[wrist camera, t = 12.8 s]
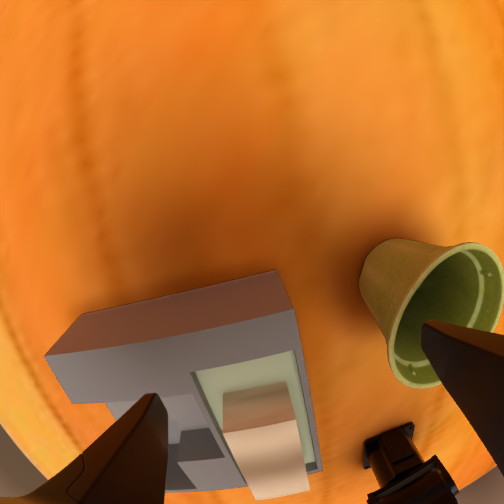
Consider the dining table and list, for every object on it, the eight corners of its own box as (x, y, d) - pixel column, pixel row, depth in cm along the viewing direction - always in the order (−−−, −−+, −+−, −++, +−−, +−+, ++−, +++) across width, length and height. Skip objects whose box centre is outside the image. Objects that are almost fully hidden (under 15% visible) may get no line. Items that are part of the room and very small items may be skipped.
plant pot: (447, 283, 23) (511, 323, 15) (368, 347, 24) (414, 411, 16) (410, 194, 21) (489, 210, 13) (315, 265, 22) (362, 319, 13)
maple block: (301, 457, 20) (310, 490, 17) (252, 467, 20) (256, 500, 17) (285, 380, 18) (295, 419, 14) (222, 393, 18) (222, 433, 14)
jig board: (307, 420, 26) (323, 470, 20) (154, 444, 26) (144, 492, 19) (276, 269, 22) (294, 308, 15) (81, 314, 22) (44, 355, 15)
